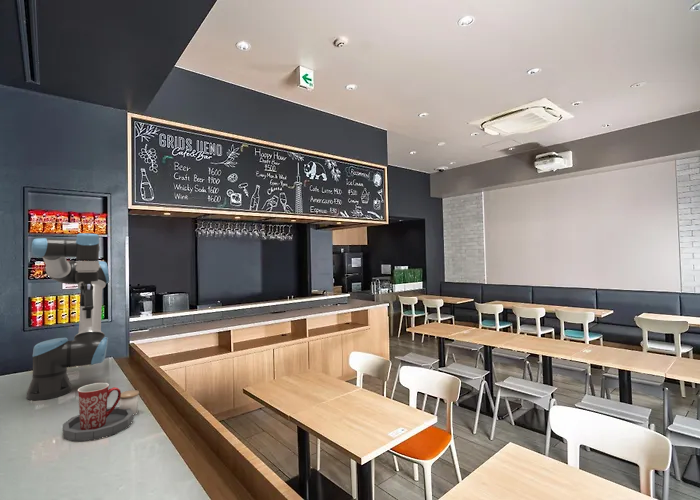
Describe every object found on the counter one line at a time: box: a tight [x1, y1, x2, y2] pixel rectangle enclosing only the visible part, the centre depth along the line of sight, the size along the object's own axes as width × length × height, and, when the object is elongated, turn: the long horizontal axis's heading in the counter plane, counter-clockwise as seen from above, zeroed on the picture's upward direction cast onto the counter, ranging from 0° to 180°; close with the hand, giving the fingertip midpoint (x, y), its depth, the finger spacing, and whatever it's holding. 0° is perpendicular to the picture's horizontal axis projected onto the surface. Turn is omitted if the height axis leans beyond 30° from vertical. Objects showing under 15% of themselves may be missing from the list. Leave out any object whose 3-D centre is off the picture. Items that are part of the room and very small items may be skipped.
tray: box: [62, 406, 134, 443], centre depth 128 cm, size 20×20×3 cm
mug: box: [77, 382, 122, 430], centre depth 128 cm, size 13×9×14 cm
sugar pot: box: [118, 389, 140, 415], centre depth 139 cm, size 7×7×8 cm
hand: (85, 324), depth 147 cm, fingers open, 13 cm apart
